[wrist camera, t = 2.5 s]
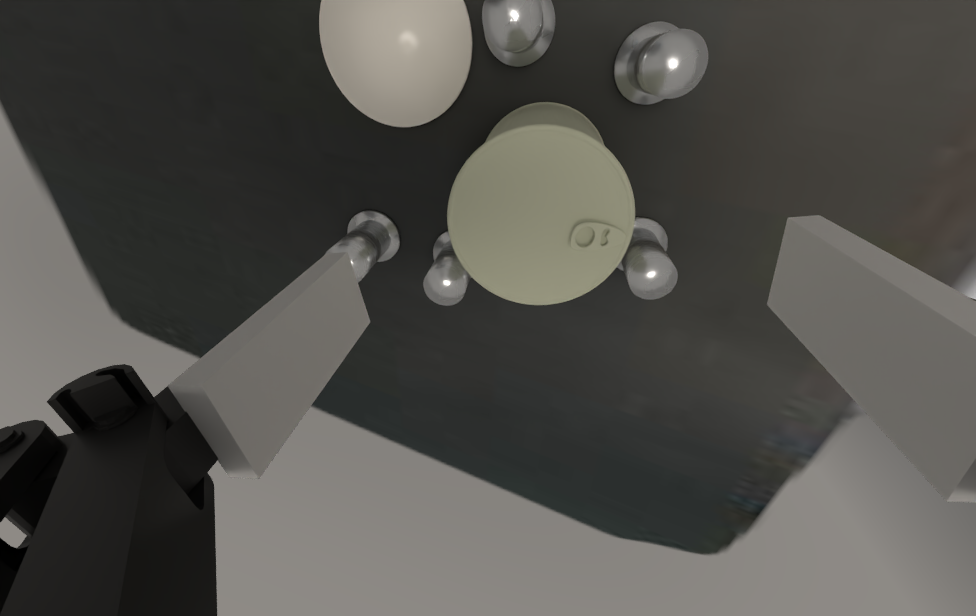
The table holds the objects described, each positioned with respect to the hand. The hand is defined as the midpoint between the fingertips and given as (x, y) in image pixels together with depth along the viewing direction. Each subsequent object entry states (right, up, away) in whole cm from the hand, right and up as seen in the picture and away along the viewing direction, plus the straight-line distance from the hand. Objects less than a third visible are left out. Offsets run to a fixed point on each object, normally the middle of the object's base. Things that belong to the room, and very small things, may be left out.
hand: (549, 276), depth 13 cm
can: (+2, +9, +17) cm, 19 cm away
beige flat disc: (-8, +16, +14) cm, 23 cm away
